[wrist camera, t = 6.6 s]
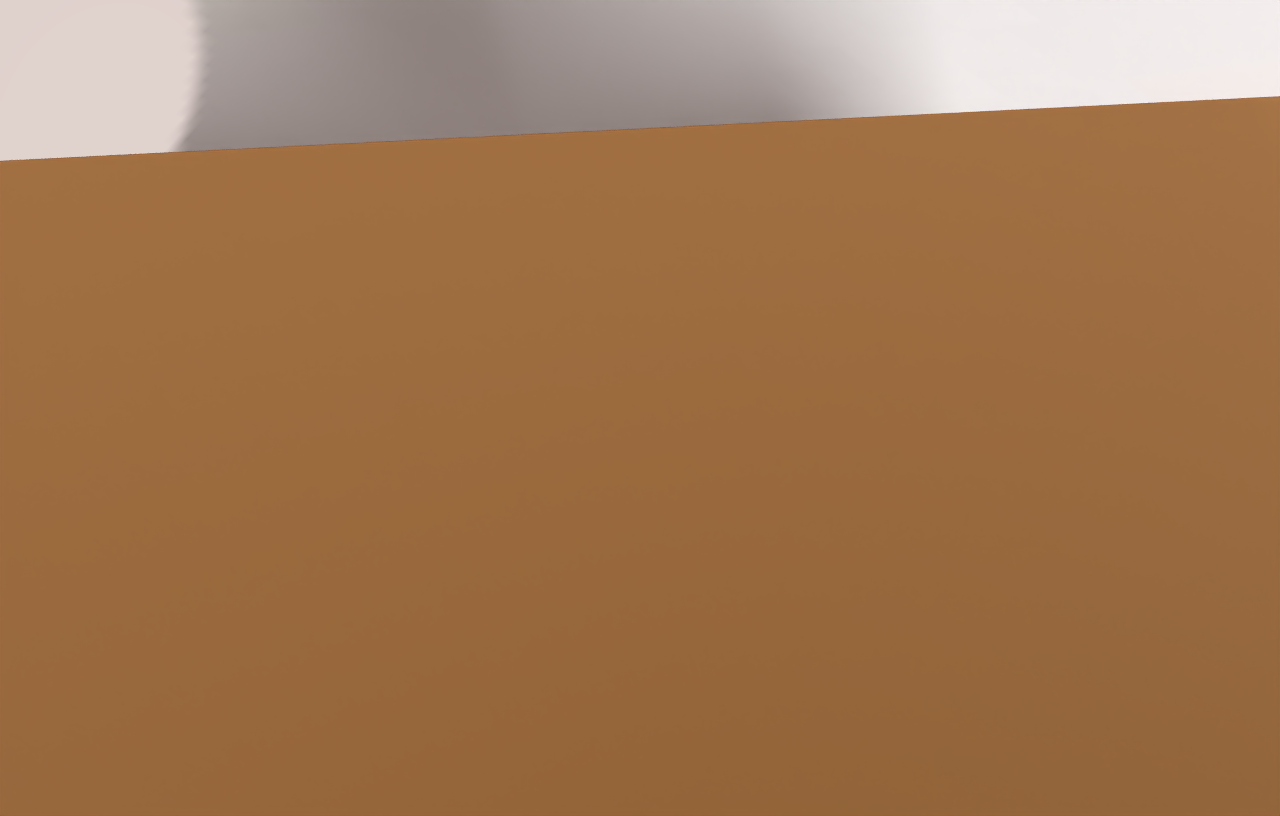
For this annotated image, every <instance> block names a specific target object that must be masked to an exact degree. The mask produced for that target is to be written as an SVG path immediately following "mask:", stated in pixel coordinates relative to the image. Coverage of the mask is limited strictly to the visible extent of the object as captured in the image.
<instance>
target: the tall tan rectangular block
mask: <svg viewBox="0 0 1280 816" xmlns="http://www.w3.org/2000/svg"><path fill="white" fill-rule="evenodd" d="M0 816H1280V96H1278V97H1258V98H1238V99H1218V100H1198V101H1179V102H1159V103H1139V104H1119V105H1099V106H1079V107H1060V108H1040V109H1020V110H1000V111H980V112H961V113H941V114H921V115H901V116H881V117H862V118H842V119H822V120H802V121H782V122H762V123H743V124H723V125H703V126H683V127H663V128H644V129H624V130H604V131H584V132H564V133H544V134H525V135H505V136H485V137H465V138H445V139H426V140H406V141H386V142H366V143H346V144H326V145H307V146H287V147H267V148H247V149H227V150H208V151H188V152H168V153H149V154H128V155H109V156H89V157H71V158H70V157H69V158H50V159H29V160H9V161H0Z"/></svg>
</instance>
